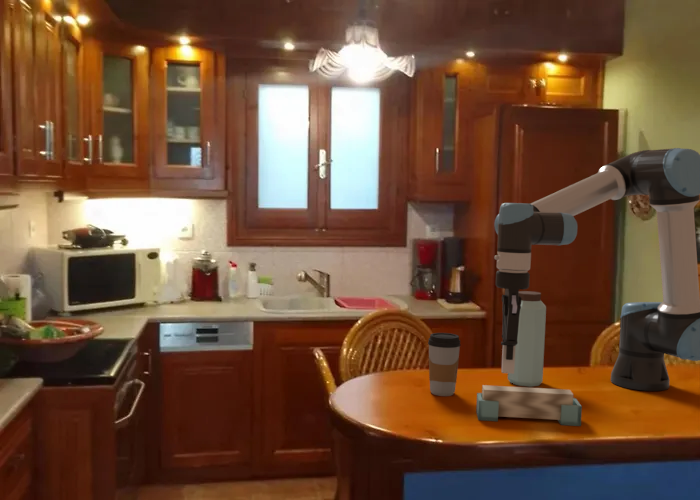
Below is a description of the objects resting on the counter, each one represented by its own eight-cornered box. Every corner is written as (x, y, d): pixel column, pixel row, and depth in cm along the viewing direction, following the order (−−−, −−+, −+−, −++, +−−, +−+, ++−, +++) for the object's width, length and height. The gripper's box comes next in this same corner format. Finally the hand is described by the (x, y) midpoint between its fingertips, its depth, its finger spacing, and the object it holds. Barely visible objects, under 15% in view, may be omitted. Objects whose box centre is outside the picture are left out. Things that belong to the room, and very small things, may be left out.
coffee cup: (457, 398, 182) (460, 339, 181) (424, 395, 184) (426, 337, 182) (459, 390, 190) (461, 333, 189) (427, 387, 192) (429, 331, 190)
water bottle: (534, 389, 192) (539, 296, 190) (500, 382, 198) (504, 292, 196) (549, 382, 200) (553, 293, 198) (515, 376, 206) (519, 289, 204)
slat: (568, 415, 168) (569, 389, 168) (572, 420, 164) (573, 394, 164) (481, 410, 170) (482, 385, 169) (482, 415, 166) (483, 389, 165)
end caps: (574, 417, 169) (575, 398, 169) (580, 426, 163) (581, 406, 162) (476, 411, 171) (477, 392, 171) (478, 420, 165) (479, 400, 165)
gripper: (493, 267, 172) (488, 365, 173) (499, 272, 159) (494, 378, 160) (525, 268, 171) (520, 366, 173) (534, 274, 158) (528, 380, 160)
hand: (507, 372), depth 167 cm, fingers closed
